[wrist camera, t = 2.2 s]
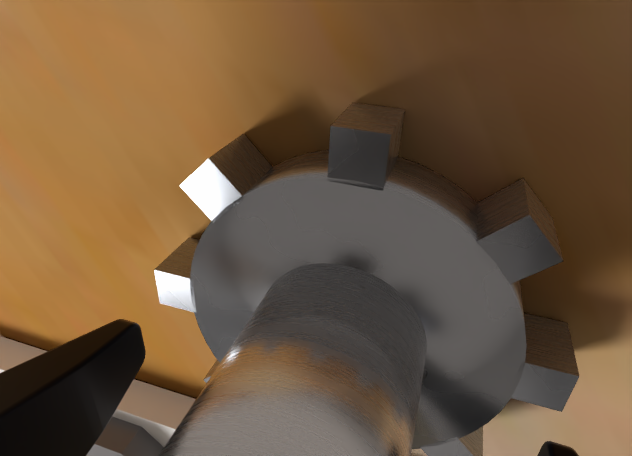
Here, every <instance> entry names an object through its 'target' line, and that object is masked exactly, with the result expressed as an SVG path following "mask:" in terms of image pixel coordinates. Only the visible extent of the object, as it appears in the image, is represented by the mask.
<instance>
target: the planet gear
mask: <svg viewBox="0 0 632 456" xmlns="http://www.w3.org/2000/svg"><path fill="white" fill-rule="evenodd" d="M404 112H405V109H398V108H390V107H383V106H375V105H368V104H360V103H352V104H351V105H350V106H349V107H348V108H347V109H346V110H345V111H344V112H343V113H342V114H341V115H340V116H339V117H338V118H337V119H336V121H335V122H334V123H333V124H332V125H331V127H330V143H329V150H323V151H317V152H311V153H306V154H303V155H300V156H297V157H294V158H290V159H288V160H286V161H284V162H282V163H280V164H278V165H275V166H273V167H272V166H271V165H270V164H269V163H268V161H267V160H266V159H265V158H264V157H263V156H262V154H261V153H260V152H259V151H258V150H257V149H256V147H255V146H254V145H253V144H252V143H251V142H250V140H249V139H248V138H247V137H246V136H245V135H244V134H242V135H241V136H239V137H238V138H237V139H235V140H234V141H232V142H231V143H229V144H228V145H227V146H225V147H224V148H222V149H221V150H220V151H218V152H217V153H215V154H214V155H212V156H211V157H210V158H208V159H207V160H206V161H205V162H204V163H203V164H202V165H201V166H200V167H199V168H198V169H197V170H196V171H195V172H194V173H193V174H192V175H190V176H189V177H188V178H187V179H186V180H185V181H184V182H183V183H182V184H181V185H180V187H181V188H182V189H183V190H184V191H185V192H186V193H187V194H188V196H189V197H190V198H191V199H192V200H193V201H194V202H195V203H196V204H197V205H198V206H199V208H200V209H201V210H202V211H203V212H204V213H205V214H206V215H207V216H208V217H209V218H210V219H211V223H210V224H209V226H208V227H207V228H206V230H205V231H204V233H203V234H202V236H201V238H200V240H198V239H194V238H188V239H187V240H186V241H185V242H184V243H182V244H181V245H180V246H179V247H178V248H177V249H176V250H175V251H174V252H173V253H172V254H171V255H169V256H168V257H167V258H166V259H165V260H164V261H163V262H162V263H161V264H160V265H159V266H158V267H157V268H155V269H154V272H155V278H156V284H157V289H158V295H159V301H160V303H161V304H165V305H169V306H172V307H176V308H180V309H183V310H187V311H191V312H194V313H195V316H196V319H197V322H198V325H199V328H200V330H201V332H202V334H203V336H204V339H205V341H206V343H207V344H208V346H209V347H210V349H211V351H212V352H213V354H214V356H215V357H216V358H217V361H216V362H215V364H214V365H213V366H212V368H211V369H210V371H209V372H208V374H207V375H206V377H205V378H204V381H205V382H206V383H207V384H206V385H205V387H204V388H203V390H202V391H201V393H200V394H199V396H198V397H197V399H196V400H195V402H194V403H193V405H192V406H191V408H190V409H189V411H188V412H187V414H186V415H185V417H184V418H183V420H182V421H181V423H180V424H179V426H178V427H177V429H176V430H175V432H174V433H173V435H172V436H171V438H170V439H169V441H168V442H167V444H166V445H165V447H164V448H163V450H162V451H161V453H160V454H159V456H411V450H412V449H419V448H421V449H422V450H423V451H424V452H425V453H426V454H427V455H428V456H483V425H485V424H487V423H488V422H489V421H490V420H491V419H492V418H494V417H495V416H496V415H497V414H498V413H499V412H500V411H501V410H502V409H503V408H504V406H505V405H506V404H507V402H508V401H509V400H510V399H511V398H513V399H516V400H520V401H524V402H528V403H531V404H535V405H539V406H542V407H546V408H550V409H553V410H557V411H561V412H562V410H563V408H564V406H565V404H566V402H567V400H568V398H569V396H570V394H571V392H572V390H573V388H574V386H575V384H576V382H577V380H578V378H579V372H578V368H577V363H576V359H575V354H574V350H573V345H572V341H571V336H570V332H569V328H568V323H565V322H561V321H557V320H552V319H548V318H543V317H539V316H534V315H530V314H526V313H523V304H522V294H521V285H520V280H521V279H523V278H525V277H528V276H530V275H532V274H535V273H537V272H539V271H542V270H544V269H546V268H549V267H551V266H553V265H556V264H558V263H560V262H563V257H562V253H561V249H560V245H559V242H558V238H557V234H556V230H555V226H554V222H553V218H552V217H551V215H550V214H549V213H548V211H547V210H546V209H545V207H544V206H543V204H542V203H541V202H540V200H539V199H538V197H537V196H536V195H535V193H534V192H533V191H532V189H531V188H530V186H529V185H528V184H527V182H526V181H525V180H524V178H522V179H520V180H518V181H516V182H515V183H513V184H511V185H509V186H507V187H506V188H504V189H502V190H500V191H498V192H497V193H495V194H493V195H491V196H489V197H488V198H486V199H484V200H482V201H480V202H479V203H477V202H476V201H475V200H474V199H473V198H472V197H470V196H469V195H468V194H467V193H466V192H465V191H464V190H462V189H461V188H460V187H458V186H457V185H455V184H454V183H452V182H451V181H449V180H448V179H446V178H445V177H443V176H442V175H440V174H438V173H436V172H434V171H432V170H430V169H428V168H426V167H424V166H422V165H420V164H418V163H415V162H412V161H409V160H406V159H403V158H401V157H398V153H399V146H400V139H401V132H402V125H403V118H404Z"/></svg>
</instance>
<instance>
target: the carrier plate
mask: <svg viewBox="0 0 632 456" xmlns="http://www.w3.org/2000/svg"><path fill="white" fill-rule="evenodd" d="M45 352H47V351H45V350H42V349H39V348H36V347H33V346H29V345H26V344H23V343H20V342H17V341H14V340H11V339H8V338H5V337H1V336H0V373H1V372H4V371H6V370H8V369H10V368H12V367H15V366H17V365H19V364H21V363H23V362H26V361H28V360H30V359H32V358H34V357H36V356H39V355H41V354H43V353H45ZM195 400H196V399H194V398H191V397H188V396H185V395H182V394H179V393H175V392H172V391H169V390H166V389H163V388H160V387H157V386H154V385H151V384H147V383H144V382H141V381H138V380H135V379H134V380H133V381H132V383H131V385H130V387H129V388H128V390H127V392H126V393H125V395H124V397H123V399H122V400H121V402H120V404H119V406H118V407H117V409H116V411H115V413H114V414H113V416H112V418H111V419H110V421H109V423H108V424H107V426H106V428H105V429H104V431H103V432H102V434H101V435H100V437H99V438H98V440H97V441H96V442H95V444H94V445H93V447H92V448H91V450H90V451H89V452H88V454H87V455H86V456H159V454H160V453H161V451H162V450H163V448H164V447H165V445H166V444H167V442H168V441H169V439H170V438H171V436H172V435H173V433H174V432H175V430H176V429H177V427H178V426H179V424H180V423H181V421H182V420H183V418H184V417H185V415H186V414H187V412H188V411H189V409H190V408H191V406H192V405H193V403H194V402H195Z"/></svg>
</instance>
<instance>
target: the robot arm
mask: <svg viewBox="0 0 632 456" xmlns="http://www.w3.org/2000/svg"><path fill="white" fill-rule="evenodd" d="M144 359H145V346H144V342H143V337H142V332H141V328H140V326H139V325H138V324H137V323H135V322H131V321H128V320H124V319H119V320H116V321H113V322H111V323H109V324H107V325H104V326H102V327H100V328H98V329H96V330H93V331H91V332H89V333H87V334H85V335H82V336H80V337H78V338H76V339H74V340H72V341H69V342H67V343H65V344H63V345H61V346H58V347H56V348H54V349H52V350H50V351H47V352H45V353H43V354H41V355H39V356H36V357H34V358H32V359H30V360H28V361H26V362H23V363H21V364H19V365H17V366H15V367H12V368H10V369H8V370H6V371H4V372H1V373H0V456H86V455H87V454H88V452H89V451H90V450H91V448H92V447H93V445H94V444H95V442H96V441H97V440H98V438H99V437H100V435H101V434H102V432H103V431H104V429H105V428H106V426H107V424H108V423H109V421H110V419H111V418H112V416H113V414H114V413H115V411H116V409H117V407H118V406H119V404H120V402H121V400H122V399H123V397H124V395H125V393H126V392H127V390H128V388H129V387H130V385H131V383H132V381H133V380H134V378H135V376H136V374H137V373H138V371H139V369H140V367H141V366H142V364H143V362H144ZM538 456H579V455H578V454H577V452H576V451H575V450H574V449H572V448H571V447H568V446H565V445H562V444H558V443H555V442H551V441H547V442H545V443H544V444H543V446H542V447H541V449H540V452H539V454H538Z"/></svg>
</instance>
